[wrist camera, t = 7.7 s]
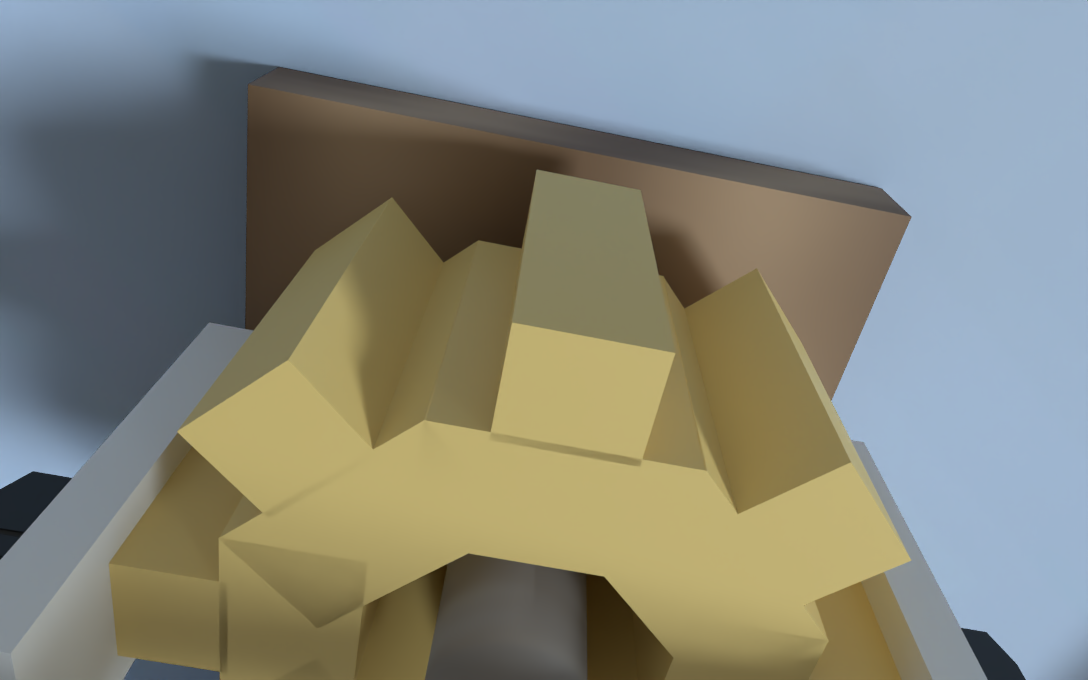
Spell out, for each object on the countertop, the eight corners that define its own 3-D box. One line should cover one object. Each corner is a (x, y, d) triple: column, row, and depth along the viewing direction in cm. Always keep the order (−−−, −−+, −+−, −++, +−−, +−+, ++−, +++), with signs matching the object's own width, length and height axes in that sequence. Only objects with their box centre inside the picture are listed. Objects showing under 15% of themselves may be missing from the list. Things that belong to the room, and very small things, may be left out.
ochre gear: (141, 370, 14) (-59, 582, 10) (620, 40, 11) (646, 128, 7) (473, 691, 18) (439, 950, 13) (899, 506, 15) (1033, 759, 10)
